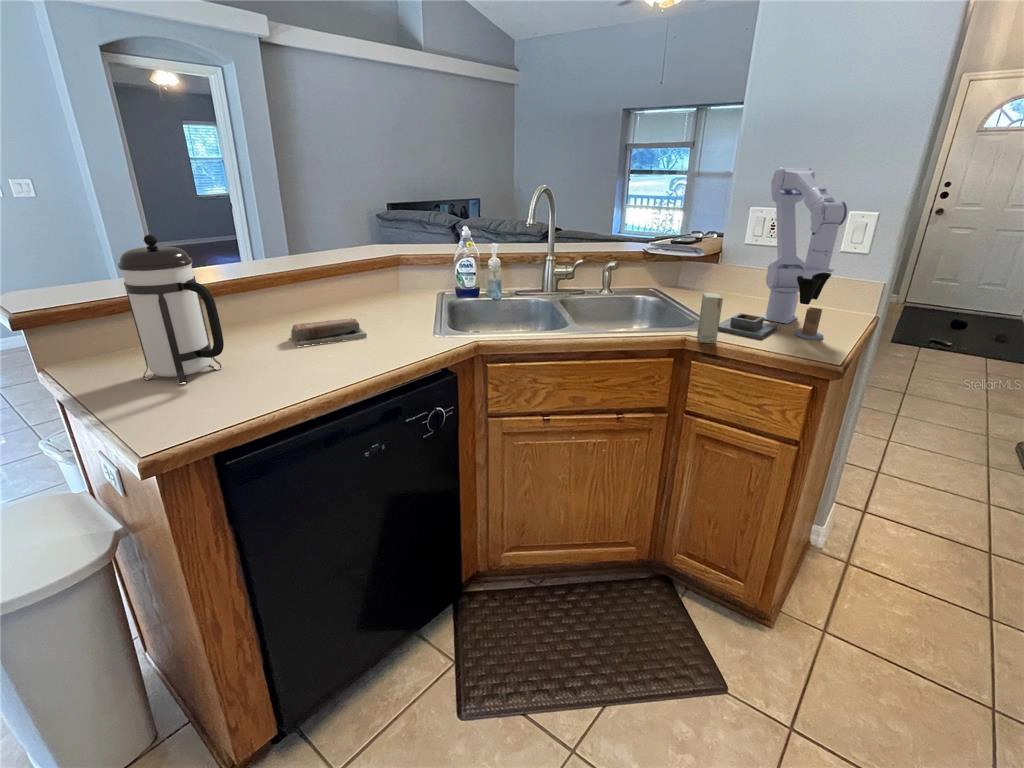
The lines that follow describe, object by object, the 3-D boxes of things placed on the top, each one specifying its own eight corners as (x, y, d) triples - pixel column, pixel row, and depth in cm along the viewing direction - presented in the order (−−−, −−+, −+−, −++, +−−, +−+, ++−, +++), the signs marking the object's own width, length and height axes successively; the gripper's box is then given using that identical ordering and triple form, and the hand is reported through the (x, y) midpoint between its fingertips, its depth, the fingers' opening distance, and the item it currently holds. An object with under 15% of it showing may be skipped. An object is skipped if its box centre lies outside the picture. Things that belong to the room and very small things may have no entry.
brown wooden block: (804, 331, 148) (810, 307, 145) (816, 334, 146) (822, 309, 143) (801, 334, 146) (807, 309, 143) (813, 336, 144) (819, 311, 141)
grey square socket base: (732, 320, 160) (734, 309, 158) (777, 329, 152) (779, 317, 150) (713, 329, 151) (715, 317, 150) (760, 339, 143) (763, 326, 141)
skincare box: (716, 344, 139) (724, 298, 134) (699, 343, 140) (706, 297, 135) (713, 336, 145) (720, 292, 140) (696, 335, 146) (702, 291, 141)
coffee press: (136, 393, 107) (92, 242, 96) (150, 367, 121) (113, 231, 109) (232, 381, 114) (201, 237, 102) (235, 357, 127) (208, 228, 115)
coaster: (799, 330, 150) (799, 328, 150) (826, 336, 146) (826, 333, 146) (791, 336, 146) (791, 334, 145) (818, 341, 141) (819, 339, 141)
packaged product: (294, 331, 132) (288, 321, 140) (297, 349, 134) (291, 339, 142) (366, 321, 141) (356, 313, 149) (367, 339, 142) (358, 329, 150)
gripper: (829, 255, 131) (817, 309, 136) (844, 249, 141) (832, 299, 146) (799, 252, 135) (788, 304, 141) (815, 246, 145) (804, 294, 151)
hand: (808, 301), depth 144 cm, fingers open, 7 cm apart
